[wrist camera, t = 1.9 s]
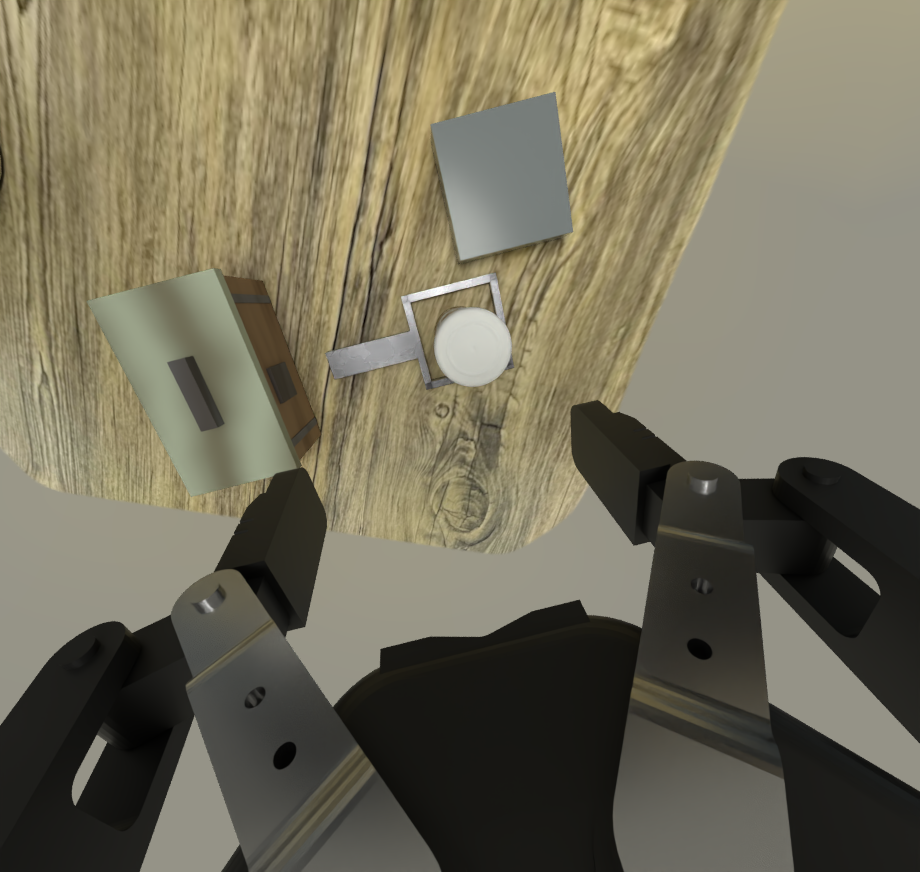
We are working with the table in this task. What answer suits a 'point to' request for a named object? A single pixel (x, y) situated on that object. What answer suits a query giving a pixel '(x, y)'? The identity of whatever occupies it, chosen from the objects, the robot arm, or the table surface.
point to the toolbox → (212, 376)
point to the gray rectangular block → (503, 177)
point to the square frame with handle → (405, 339)
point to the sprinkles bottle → (471, 345)
